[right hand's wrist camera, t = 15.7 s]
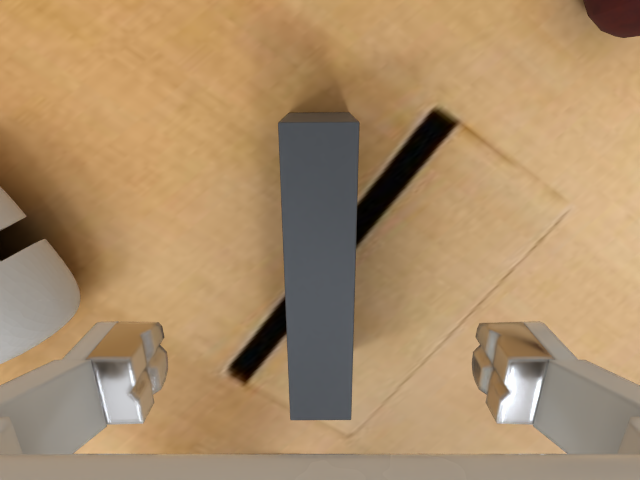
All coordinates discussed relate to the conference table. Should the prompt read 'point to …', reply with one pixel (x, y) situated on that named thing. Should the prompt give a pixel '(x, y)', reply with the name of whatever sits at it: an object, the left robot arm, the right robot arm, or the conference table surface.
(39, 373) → the right robot arm
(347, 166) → the bar
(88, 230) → the conference table surface
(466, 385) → the conference table surface
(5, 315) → the white slotted housing
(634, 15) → the potato
